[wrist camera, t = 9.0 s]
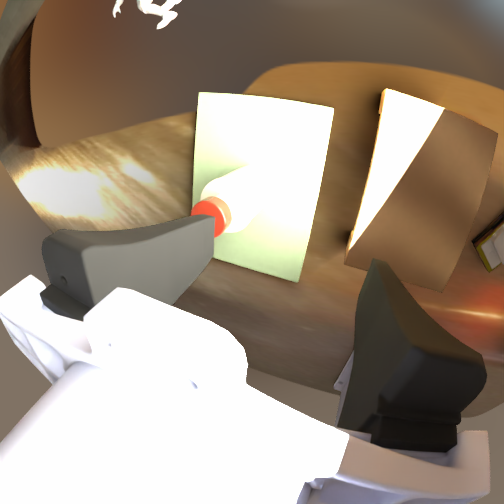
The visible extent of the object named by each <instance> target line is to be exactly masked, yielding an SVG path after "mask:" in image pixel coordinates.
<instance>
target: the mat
mask: <svg viewBox="0 0 504 504" xmlns="http://www.w3.org/2000/svg"><path fill="white" fill-rule="evenodd" d="M333 112H334V108H330V107H325V106H320V105H315V104H309V103H303V102H297V101H291V100H284V99H277V98H269V97H260V96H250V95H239V94H223V93H201V92H200V93H199V98H198V110H197V123H196V137H195V153H194V173H193V199H192V208H193V207H194V205H195V204H196V203H198V202H199V201H200V199H201V194H202V191H203V189H204V187H205V186H206V185H207V184H208V183H209V182H211V181H212V180H214V179H216V178H218V177H220V176H222V175H224V174H226V173H228V172H230V171H232V170H234V169H236V168H238V167H240V166H243V165H254V166H257V167H259V168H261V169H262V170H264V171H265V172H266V173H267V174H268V176H269V177H270V179H271V182H272V185H273V195H272V198H271V200H270V202H269V203H268V204H267V205H266V206H265V208H264V209H263V210H262V211H261V212H260V213H259V214H258V215H257V216H256V217H255V218H254V219H253V220H252V221H251V222H250V223H249V224H248V225H247V226H246V227H245V228H244V229H242V230H241V231H238V232H234V233H227V232H223V233H222V234H221V235H220V236H218V237H215V238H214V255H213V258H216V259H219V260H223V261H226V262H229V263H233V264H236V265H239V266H243V267H246V268H249V269H253V270H256V271H260V272H263V273H266V274H270V275H273V276H277V277H280V278H283V279H287V280H290V281H294V282H297V283H298V281H299V277H300V273H301V269H302V265H303V261H304V257H305V252H306V248H307V244H308V240H309V235H310V231H311V226H312V222H313V217H314V213H315V208H316V203H317V198H318V194H319V189H320V184H321V179H322V174H323V168H324V163H325V158H326V152H327V147H328V141H329V136H330V130H331V124H332V118H333Z"/></svg>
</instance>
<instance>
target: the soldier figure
mask: <svg viewBox="0 0 504 504" xmlns="http://www.w3.org/2000/svg"><path fill="white" fill-rule="evenodd" d="M180 1H181V0H166V3H165V4H164V5H162V6H161V7H160V6H158V5H155V4H151V2H152V0H137V5H138V9H139V10H141V11H143V12H144V13H146V14H155V15H159V16H162V21H161V22H160V23H159V24H158V25H157V29H161V28H163V27H165V26H166V25H167V24H168V23H169V22H170V21H171V20H173V19H174V18H175V17H176V16H177V13H175V12H174V11H168V10H169V9H171V8H172V6H173V5H175V4H177V3H179V2H180ZM122 2H123V0H116V3H115V6H114V9H113V16H114V17H116V16H115V14H116V12H119V13H121V12H120V9H119V6H120V5H121V4H122Z"/></svg>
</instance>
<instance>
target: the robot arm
mask: <svg viewBox="0 0 504 504" xmlns="http://www.w3.org/2000/svg"><path fill="white" fill-rule="evenodd" d="M214 232H215V217H214V216H210V215H205V214H199V215H193V216H189V217H184V218H180V219H176V220H172V221H168V222H164V223H160V224H155V225H151V226H146V227H141V228H134V229H127V230H114V231H78V230H67V229H61V230H58V231H57V232H55V233H53V234H52V235H50V236H48V237H46V238H45V239H44V241H43V244H42V255H43V260H44V263H45V267H46V270H47V273H48V276H49V279H50V283H51V285H49V286H48V287H47V288H46V287H45V285H44V284H43V283H42V282H41V281H40V280H38V279H37V278H35V277H34V276H33V275H29V276H28V277H26V278H25V279H23V280H22V281H21V282H19V283H18V284H17V285H15V286H14V287H13V288H11V289H10V290H8V291H7V292H6V293H5V294H3V295H2V296H1V297H0V318H1V320H2V321H3V323H4V325H5V327H6V329H7V331H8V332H9V335H10V336H11V338H12V340H13V342H14V343H15V344H16V346H17V347H18V348H19V349H20V350H21V351H22V352H23V353H24V354H25V356H27V358H28V359H29V360H30V361H31V362H32V363H33V364H34V365H35V366H36V367H37V369H38V370H39V371H40V372H41V373H42V374H43V375H44V376H45V377H46V378H47V379H48V380H49V381H50V382H51V383H52V384H53V385H52V386H51V387H50V388H49V390H48V391H47V392H46V393H45V394H44V395H43V396H42V397H41V398H40V399H39V400H38V402H36V404H35V405H34V406H33V407H32V408H31V409H30V410H29V411H28V412H27V413H26V414H25V416H24V417H23V418H22V419H21V420H20V421H19V422H18V423H17V425H16V426H15V427H14V428H13V429H12V430H11V431H10V433H9V434H8V435H7V436H6V437H5V438H4V440H3V441H2V442H1V443H0V504H468V503H470V502H473V501H475V500H477V499H479V498H481V497H483V496H485V495H487V494H488V493H489V492H490V456H489V442H488V432H487V431H470V430H467V431H462V432H459V433H457V428H456V425H458V424H459V423H460V422H461V413H460V412H462V411H463V410H464V409H465V408H466V407H467V406H468V405H469V404H470V403H471V402H472V401H473V400H474V399H475V398H476V397H477V396H478V394H479V393H480V392H481V391H482V389H483V387H484V385H485V383H486V379H487V373H486V369H485V365H484V361H483V358H482V355H481V354H480V353H478V352H476V351H475V350H473V349H471V348H470V347H468V346H466V345H465V344H463V343H462V342H460V341H459V340H458V339H456V338H455V337H453V336H452V335H451V334H449V333H448V332H447V331H446V330H444V329H443V328H442V327H441V326H440V325H439V324H438V323H436V322H435V321H434V320H433V319H432V318H431V317H430V316H429V315H428V314H427V313H426V312H425V311H424V310H423V309H422V308H421V307H420V306H419V304H418V303H417V302H416V301H415V300H414V298H413V297H412V296H411V295H410V293H409V292H408V291H407V290H406V288H405V287H404V286H403V284H402V283H401V281H400V280H399V279H398V277H397V276H396V274H395V273H394V271H393V270H392V269H391V267H390V266H389V265H388V263H387V262H386V261H382V260H379V259H375V258H373V259H372V261H371V264H370V267H369V270H368V273H367V275H366V278H365V281H364V283H363V286H362V289H361V291H360V294H359V297H358V303H357V309H356V317H355V340H354V350H353V352H352V354H351V356H350V358H349V360H348V361H347V363H346V365H345V367H344V369H343V370H342V372H341V374H340V376H339V377H338V379H337V381H336V382H335V384H334V389H336V390H339V391H341V396H340V401H339V407H338V411H337V416H336V421H335V425H334V427H333V426H328V425H325V424H323V423H321V422H319V421H316V420H314V419H312V418H310V417H308V416H306V415H304V414H302V413H300V412H298V411H295V410H293V409H291V408H289V407H288V406H285V405H283V404H282V403H280V402H278V401H276V400H274V399H272V398H270V397H268V396H267V395H265V394H263V393H261V392H259V391H257V390H256V389H254V388H252V387H250V386H248V385H247V384H246V381H245V377H246V370H247V360H246V356H245V352H244V349H243V347H242V346H241V345H240V344H239V343H238V342H237V341H236V339H235V338H234V337H233V336H232V335H231V334H230V333H229V332H228V331H226V330H225V329H223V328H221V327H219V326H218V325H216V324H214V323H212V322H211V321H208V320H205V319H203V318H200V317H197V316H195V315H192V314H190V313H187V312H184V311H182V310H179V309H177V308H174V307H172V305H173V304H174V303H175V301H176V300H177V299H178V298H179V297H180V296H181V295H182V293H183V292H184V291H185V290H186V289H187V288H188V287H189V286H190V285H191V284H192V283H193V282H194V280H195V279H196V278H197V277H198V276H199V275H200V274H201V273H202V272H203V270H204V269H205V267H206V266H207V265H208V263H209V262H210V260H211V258H212V257H213V255H214Z"/></svg>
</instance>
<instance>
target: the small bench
mask: <svg viewBox="0 0 504 504" xmlns="http://www.w3.org/2000/svg"><path fill="white" fill-rule="evenodd" d="M379 114H380V120H379V125H378V130H377V135H376V140H375V145H374V150H373V155H372V159H371V164H370V168H369V173H368V177H367V181H366V185H365V189H364V193H363V197H362V201H361V205H360V209H359V212H358V216H357V220H356V223H355V227H354V230H353V231H351V233H350V237H349V240H348V244H347V247H346V253H345V261H344V265H347V266H351V267H354V268H358V269H362V270H365V271H368V270H369V267H370V264H371V261H372V259H373V258H375V259H379V260H382V261H386V262H387V263H388V265H389V266H390V267H391V269H392V270H393V271H394V273H395V274H396V276H397V277H398V279H399V280H400V281H403V282H407V283H410V284H414V285H417V286H420V287H424V288H427V289H431V290H434V291H437V292H441V293H442V292H443V290H444V288H445V286H446V284H447V282H448V280H449V278H450V276H451V274H452V272H453V270H454V268H455V266H456V264H457V261H458V259H459V257H460V255H461V252H462V250H463V248H464V245H465V243H466V240H467V238H468V236H469V233H470V230H471V228H472V225H473V223H474V220H475V217H476V214H477V211H478V208H479V206H480V203H481V199H482V196H483V193H484V190H485V187H486V183H487V180H488V176H489V172H490V169H491V165H492V161H493V156H494V152H495V147H496V143H497V138H498V133H496V132H494V131H492V130H490V129H488V128H486V127H484V126H482V125H480V124H478V123H476V122H474V121H472V120H470V119H468V118H466V117H463V116H461V115H459V114H457V113H454V112H452V111H450V110H447V109H445V108H442V107H440V106H437V105H435V104H432V103H429V102H427V101H424V100H421V99H418V98H415V97H412V96H409V95H406V94H403V93H400V92H397V91H393V90H390V89H385V90H384V91H383V92H382V95H381V101H380V107H379Z"/></svg>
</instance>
